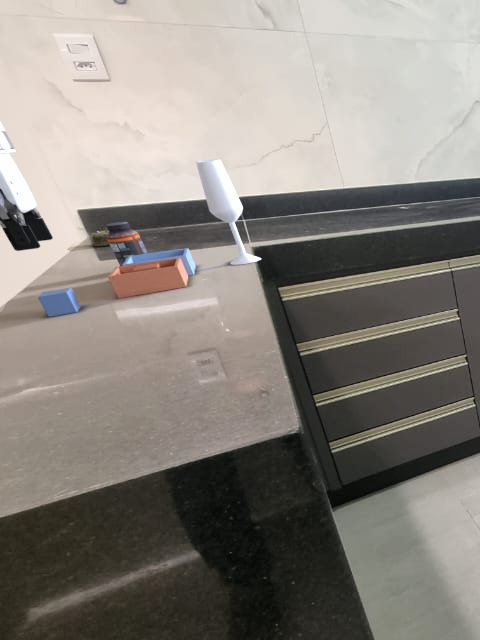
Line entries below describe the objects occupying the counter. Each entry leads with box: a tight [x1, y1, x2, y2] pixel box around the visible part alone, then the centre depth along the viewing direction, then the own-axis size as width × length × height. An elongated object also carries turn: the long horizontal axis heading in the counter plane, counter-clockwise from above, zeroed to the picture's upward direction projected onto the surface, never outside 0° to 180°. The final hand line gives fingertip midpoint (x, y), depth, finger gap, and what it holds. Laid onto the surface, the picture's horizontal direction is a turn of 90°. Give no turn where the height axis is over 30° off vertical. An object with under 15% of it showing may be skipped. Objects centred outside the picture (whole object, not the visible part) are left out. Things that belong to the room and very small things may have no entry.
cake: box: [91, 226, 110, 247], centre depth 161 cm, size 10×10×5 cm
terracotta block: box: [133, 263, 161, 272], centre depth 114 cm, size 4×4×4 cm
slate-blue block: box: [37, 287, 82, 318], centre depth 101 cm, size 4×4×4 cm
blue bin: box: [123, 247, 196, 277], centre depth 124 cm, size 11×10×5 cm
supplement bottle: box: [105, 221, 149, 266], centre depth 128 cm, size 6×6×11 cm
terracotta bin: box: [107, 258, 189, 299], centre depth 115 cm, size 11×10×5 cm
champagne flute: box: [195, 159, 262, 266], centre depth 129 cm, size 7×7×24 cm
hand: (35, 244), depth 97 cm, fingers open, 9 cm apart
